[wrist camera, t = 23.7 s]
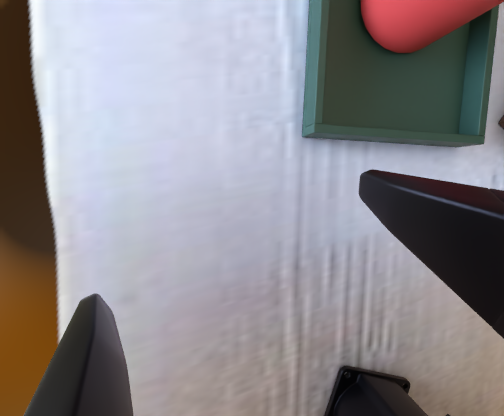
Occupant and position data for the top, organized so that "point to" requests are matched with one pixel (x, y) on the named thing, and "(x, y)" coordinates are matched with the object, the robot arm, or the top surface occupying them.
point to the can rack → (502, 122)
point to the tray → (395, 81)
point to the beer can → (418, 20)
